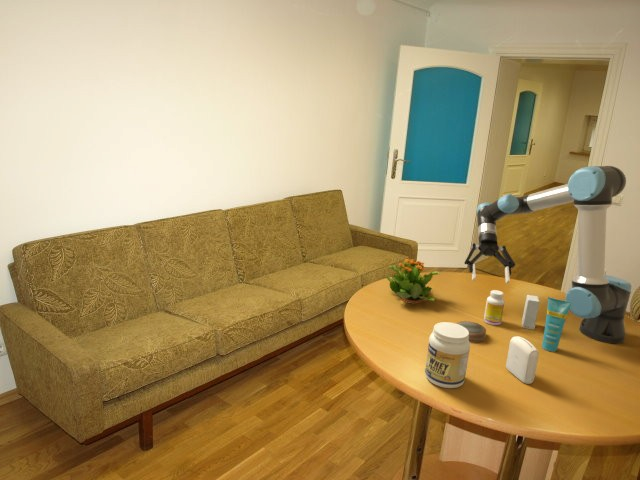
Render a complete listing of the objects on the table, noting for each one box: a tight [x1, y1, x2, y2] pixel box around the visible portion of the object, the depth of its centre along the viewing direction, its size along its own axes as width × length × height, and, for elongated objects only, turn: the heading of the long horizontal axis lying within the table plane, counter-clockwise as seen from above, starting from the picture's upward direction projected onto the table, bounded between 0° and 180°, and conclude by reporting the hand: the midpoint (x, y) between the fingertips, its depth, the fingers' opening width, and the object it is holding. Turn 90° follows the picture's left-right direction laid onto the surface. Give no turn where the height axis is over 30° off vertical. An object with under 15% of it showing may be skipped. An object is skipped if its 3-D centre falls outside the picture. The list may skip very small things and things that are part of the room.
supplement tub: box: [424, 321, 471, 389], centre depth 142 cm, size 12×12×17 cm
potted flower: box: [384, 258, 441, 304], centre depth 201 cm, size 25×24×18 cm
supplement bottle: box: [483, 289, 506, 326], centre depth 183 cm, size 7×7×13 cm
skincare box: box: [521, 294, 540, 331], centre depth 182 cm, size 6×4×12 cm
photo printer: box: [505, 335, 540, 385], centre depth 146 cm, size 10×4×12 cm, turn 15°
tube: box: [541, 296, 572, 353], centre depth 163 cm, size 7×5×19 cm, turn 60°
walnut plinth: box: [455, 320, 487, 343], centre depth 173 cm, size 11×11×3 cm
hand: (490, 280), depth 190 cm, fingers open, 13 cm apart
